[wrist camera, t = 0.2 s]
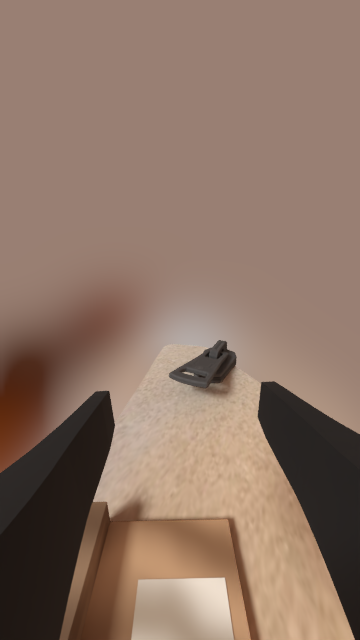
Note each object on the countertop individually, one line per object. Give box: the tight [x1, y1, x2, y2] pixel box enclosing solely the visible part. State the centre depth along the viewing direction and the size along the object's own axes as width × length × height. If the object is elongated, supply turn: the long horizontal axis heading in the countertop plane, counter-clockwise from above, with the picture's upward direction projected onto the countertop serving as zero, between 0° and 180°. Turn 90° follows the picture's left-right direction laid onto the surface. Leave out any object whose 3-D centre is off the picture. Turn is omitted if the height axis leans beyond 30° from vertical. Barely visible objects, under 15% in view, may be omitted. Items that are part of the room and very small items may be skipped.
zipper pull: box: [169, 340, 236, 388], centre depth 49 cm, size 9×7×25 cm
